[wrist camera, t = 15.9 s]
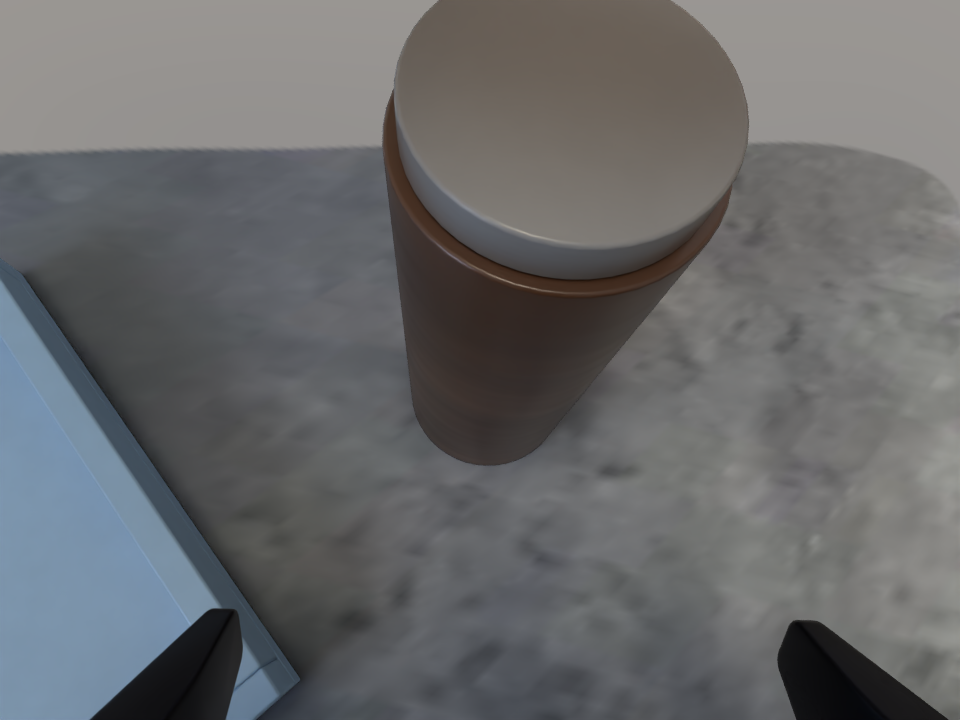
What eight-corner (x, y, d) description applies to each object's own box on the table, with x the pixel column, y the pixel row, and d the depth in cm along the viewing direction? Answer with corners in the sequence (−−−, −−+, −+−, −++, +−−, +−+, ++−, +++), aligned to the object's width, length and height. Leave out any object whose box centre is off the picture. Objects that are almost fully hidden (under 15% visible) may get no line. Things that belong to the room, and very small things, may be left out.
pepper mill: (578, 447, 18) (831, 225, 7) (429, 481, 18) (421, 299, 6) (538, 311, 20) (686, -62, 8) (399, 337, 19) (345, -31, 8)
